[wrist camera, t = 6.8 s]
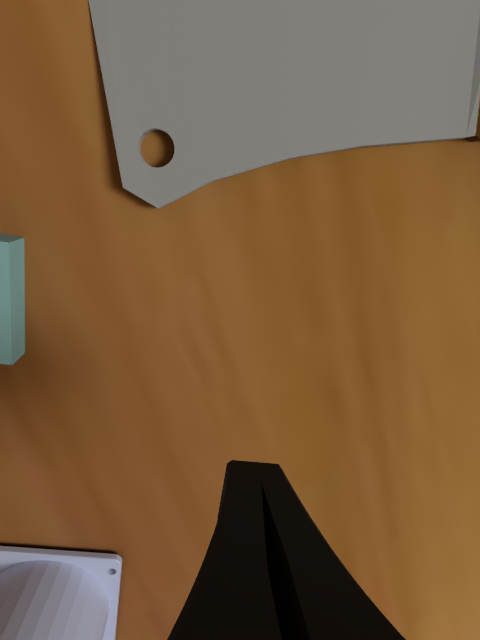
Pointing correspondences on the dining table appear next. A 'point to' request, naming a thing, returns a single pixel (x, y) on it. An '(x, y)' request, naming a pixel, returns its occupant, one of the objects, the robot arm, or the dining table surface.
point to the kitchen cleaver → (281, 81)
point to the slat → (12, 299)
